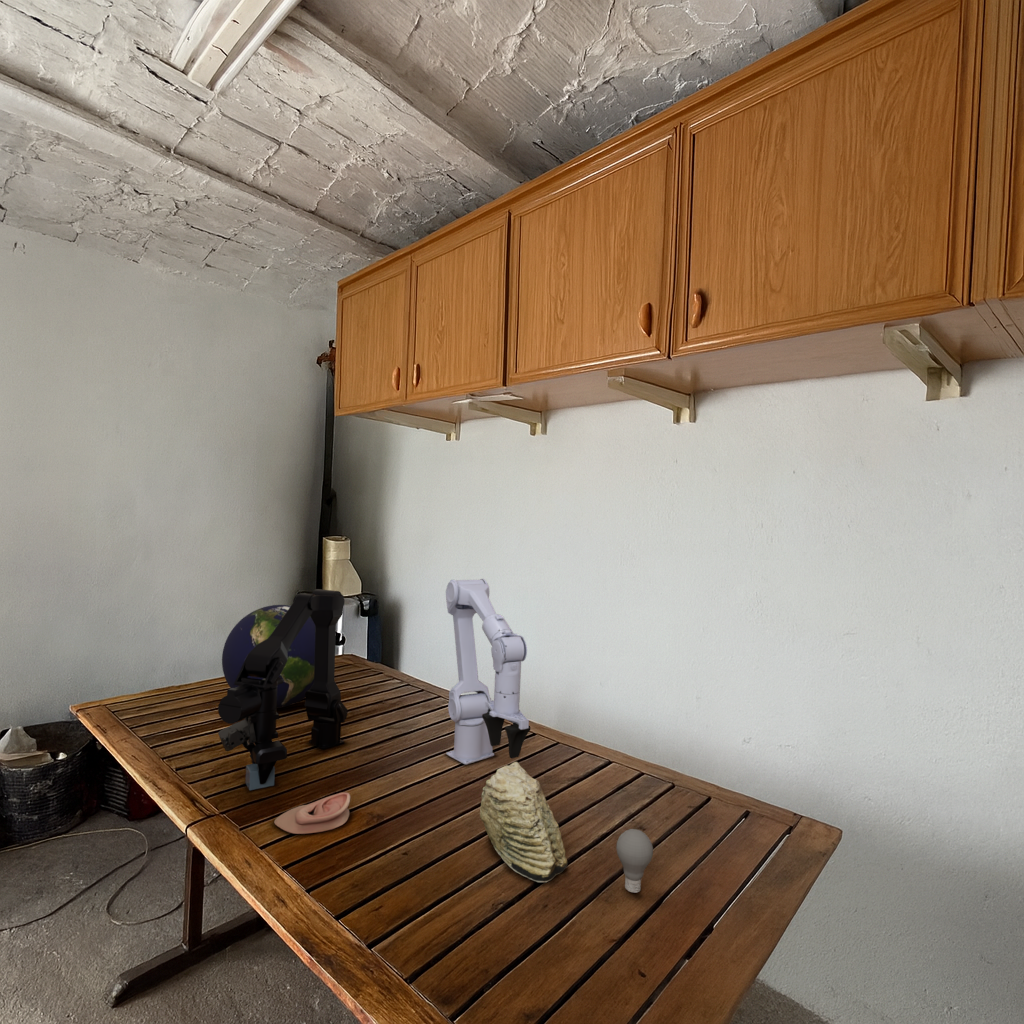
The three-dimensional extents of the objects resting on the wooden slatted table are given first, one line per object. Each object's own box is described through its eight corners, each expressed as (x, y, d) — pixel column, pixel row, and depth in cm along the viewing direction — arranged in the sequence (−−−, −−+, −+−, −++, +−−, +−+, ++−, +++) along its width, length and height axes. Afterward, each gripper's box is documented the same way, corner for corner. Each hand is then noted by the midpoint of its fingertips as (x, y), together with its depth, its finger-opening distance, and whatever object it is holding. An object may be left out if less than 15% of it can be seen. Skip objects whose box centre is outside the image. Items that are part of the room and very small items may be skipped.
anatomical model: (265, 808, 120) (298, 782, 131) (265, 829, 120) (297, 801, 131) (330, 818, 117) (357, 791, 128) (329, 840, 117) (357, 810, 128)
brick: (245, 783, 138) (246, 765, 138) (269, 778, 141) (270, 760, 141) (249, 790, 135) (250, 772, 135) (274, 785, 138) (275, 767, 138)
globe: (289, 685, 209) (292, 594, 208) (348, 705, 191) (352, 606, 191) (199, 706, 185) (203, 604, 184) (258, 732, 167) (262, 619, 167)
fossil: (501, 827, 124) (504, 751, 124) (575, 868, 111) (578, 784, 111) (467, 843, 118) (470, 763, 118) (541, 889, 105) (545, 799, 105)
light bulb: (610, 879, 108) (613, 822, 108) (644, 879, 109) (647, 822, 109) (619, 902, 102) (622, 840, 102) (655, 901, 103) (658, 840, 103)
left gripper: (214, 701, 141) (212, 771, 141) (231, 728, 125) (228, 806, 126) (266, 694, 147) (264, 761, 147) (289, 719, 132) (286, 793, 132)
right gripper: (474, 684, 145) (472, 743, 145) (510, 702, 133) (507, 766, 133) (500, 680, 149) (498, 737, 149) (537, 697, 137) (534, 760, 137)
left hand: (260, 779), depth 138 cm, fingers closed on brick, 4 cm apart
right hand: (504, 751), depth 141 cm, fingers open, 7 cm apart
